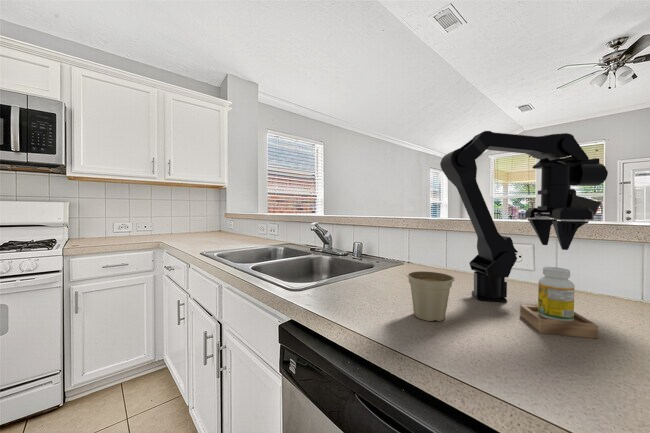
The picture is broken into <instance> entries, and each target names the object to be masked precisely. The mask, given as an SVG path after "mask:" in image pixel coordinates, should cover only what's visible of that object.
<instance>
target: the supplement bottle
mask: <svg viewBox="0 0 650 433" xmlns="http://www.w3.org/2000/svg"><path fill="white" fill-rule="evenodd" d="M542 274H543V275H544V276H543V277H540V278H539V279H538V291H537V292H538V293H537V294H538V296H537V298H538V301H537V306H538V314H539V315H540V316H541V317H543V318H545V319H547V320H558V321H570V322H573V320H574V312H575V288H576V287H575V284H574V283H573V281H571V280H569V279H570V277H571V270H570V269H567V268H563V267H556V266H555V267H554V266H543V267H542Z"/></svg>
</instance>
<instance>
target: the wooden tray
mask: <svg viewBox="0 0 650 433" xmlns="http://www.w3.org/2000/svg"><path fill="white" fill-rule="evenodd" d="M519 305H520V306H519V308H520V309H519V316H520V317H521V318H522V319H524V320H525V322H527V323H528V324H529V325H531V327H533V328H534V329H535V330H537V332H538V333H540V334H546V335H547V334H549V335H559V336H567V337H568V336H569V337H578V338H589V339H598V338H599V336H598V335H599V325H598V324H596V323H594V322H592V321H591V320H589V319H587V318H586V317H584V316H582V315H581V314H579V313H577V312H576V311H574V320H573V322H570V321H558V320H547V319H545V318H543V317H541V316H540V315H539V314H538V305H528V304H527V305H525V304H519Z"/></svg>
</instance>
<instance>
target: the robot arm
mask: <svg viewBox="0 0 650 433" xmlns="http://www.w3.org/2000/svg"><path fill="white" fill-rule="evenodd" d="M485 151H497V152H503V153H504V152H505V153H515V154H526V155H528V156H531V157H532V158H534V159H537V160H539V161H537V163H535V164H534V165H532V169H533V170H534V169H536V170H541V178H540V180H541V181H540V182H541V183H540V187H541V188H540V190H537V195H540V205H539V206H538V205H537V207H529V208H528V209H526V210H525V216H524V217H525V218H527V221H528V222H529V223H530V225H531V227H532V228H533V230H534V232H535V234H536V236H537V238H538V240H539V241H540V244H542V245H543V246H548V245H549V241H550V235H551V228H552V226H553V228H554V229H553V230H554V231H555V235H556V238H557V241H558V243H559V246H560V248H561V250H563V251H568V250H569V249H570V246H571V244H572V242H573V240H574V237H575V235H576V233H577V231H578V229H579V228H581V227H583V226H584V225H585V224H587V225H588V224H589V222H590V221H592V220H594V216H596V215H597V212H598V210H599V209H600V206H601V204H602V202H601V201H597V200H595V199H591V198H587V197H584V196H579V195H577V191H576V190H575V188H571V186H572V187H577V186H579V187H595V186H600V185H602V184H603V183H605V181H606V180H607V178H608V173H609V171H608V170H607V167H606V166H605V165H604V164H602V163H600V158H595V157H594V158H589V156H588V155H587V153H586V152H585V150H584V149H583V148H582V147H581V145H580V144H579V143H578V141H577V140H576V138H575V136H574V134H572V133H568V132H566V133H564V132H563V133H552V134H545V135H538V136H535V135H524V134H516V133H507V132H506V133H505V132H494V131H491V130H484V131H481V132H480V133H477V134H476V135H474V136H473V137H472V138H471V139H470V140H469V141H467V142H466V143H465V144H463V145H462V146H461V147H460V148H457V149H455V150H453V151H451V152H448V153H447V154H445V155H444V156H443V157H442V158H441V160H440V164H439V165H440V168H441V170H442V172H443V174H444V175H445V177H446V178H447V180H449V181H450V182H451V183H452V184H453V186H454V187H455V188H456V190H457V192H458V194H459V196H460V198H461V201H462V204H463V206H464V208H465V210H466V213H467V215H468V218H469V220H470V222H471V225H472V227H473V230H474V231H475V234H476V238H477V239H476V240H477V241H476V249H477V255H475V257H473V259H472V260H470V262H469V263H468V264H469V266H470V270H472V271H473V290H471V294H472V295H473V296H474V297H475V298H476V299H477V300H478V301H488V302H489V301H490V302H503V303H508V299H507V298H508V281H506V280H505V278H509V276H510V274H511V272H512V270H513V266H515V265H516V264H515V263H516V262H517V259H518V257H517V254H518V253H519V251H518V250H517V249H516V248H515V246H514V242H513V239H512V238H511V237H510V236H503V235H501V234H500V233H499V231H498V228H497V226H496V224H495V222H494V219H493V217H492V215H491V212H490V210H489V208H488V205H487V202H486V201H485V197H484V196H483V193H482V191H481V189H480V187H479V184H478V181H477V173H478V166H477V163H476V162H477V161H476V160H477V159H478V158H479V157H481V156H482V154H484V152H485Z"/></svg>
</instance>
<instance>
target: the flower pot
mask: <svg viewBox="0 0 650 433" xmlns="http://www.w3.org/2000/svg"><path fill="white" fill-rule="evenodd" d="M406 277H407V278H408V283H409V284H410V285H409V286H410V291H411V299H412V300H411V301H412V308H413V309H412V310H413V315H414V316H415V317H417V319H420V320H423V321H427V322H433V321H437V322H440V321H443V320H445V319H446V313H447V308H448V302H449V297H450V290H451V288H452V286H453V283H454V282H455V279H456V278H455V277H454V276H452V275H451V274H447V273H443V272H438V271H427V270H426V271H425V270H418V271H417V270H416V271H409V272H407V273H406Z"/></svg>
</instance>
